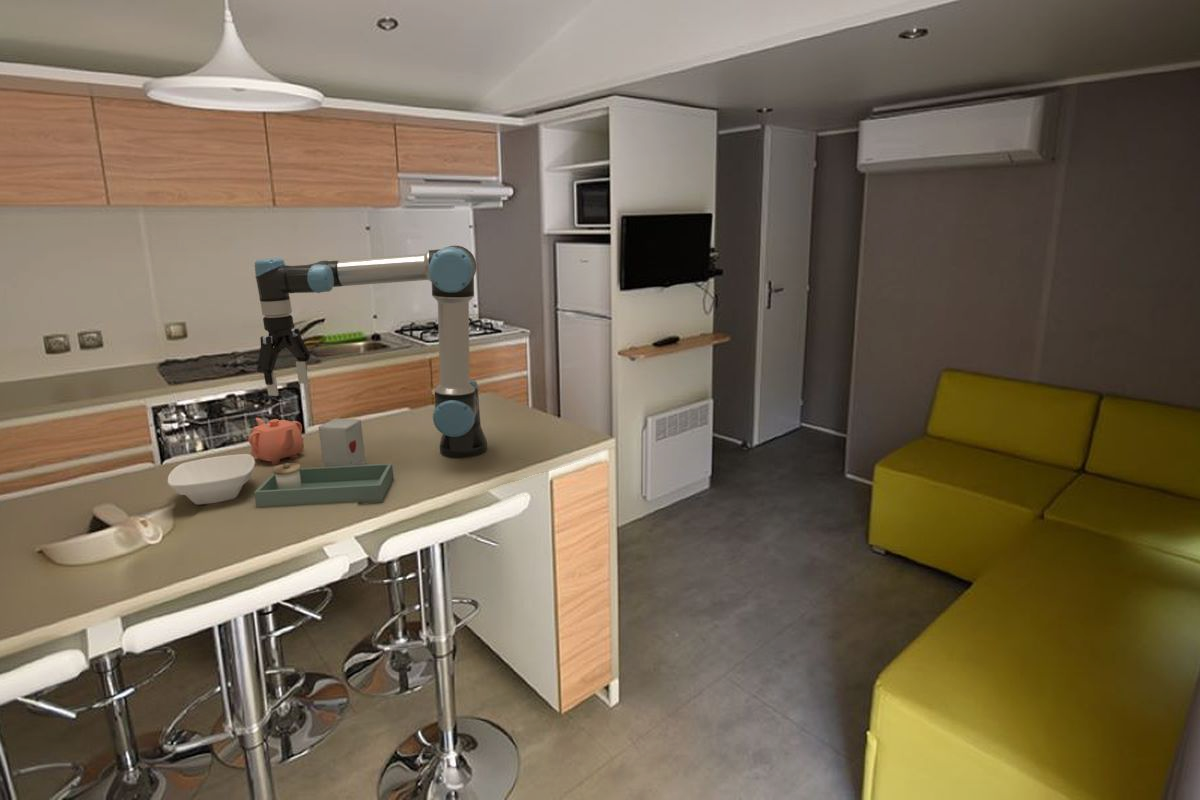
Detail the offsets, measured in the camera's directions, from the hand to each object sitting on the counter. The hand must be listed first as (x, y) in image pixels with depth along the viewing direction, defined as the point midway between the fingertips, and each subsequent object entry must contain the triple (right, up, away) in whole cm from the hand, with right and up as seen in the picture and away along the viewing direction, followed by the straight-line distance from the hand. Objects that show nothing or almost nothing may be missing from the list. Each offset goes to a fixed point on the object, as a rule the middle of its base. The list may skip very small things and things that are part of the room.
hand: (289, 389), depth 193 cm
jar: (+5, -29, -9) cm, 30 cm away
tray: (+15, -29, -8) cm, 33 cm away
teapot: (-12, -22, +21) cm, 32 cm away
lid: (+5, -22, -11) cm, 25 cm away
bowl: (-15, -30, -9) cm, 35 cm away
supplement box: (+13, -24, +9) cm, 29 cm away
